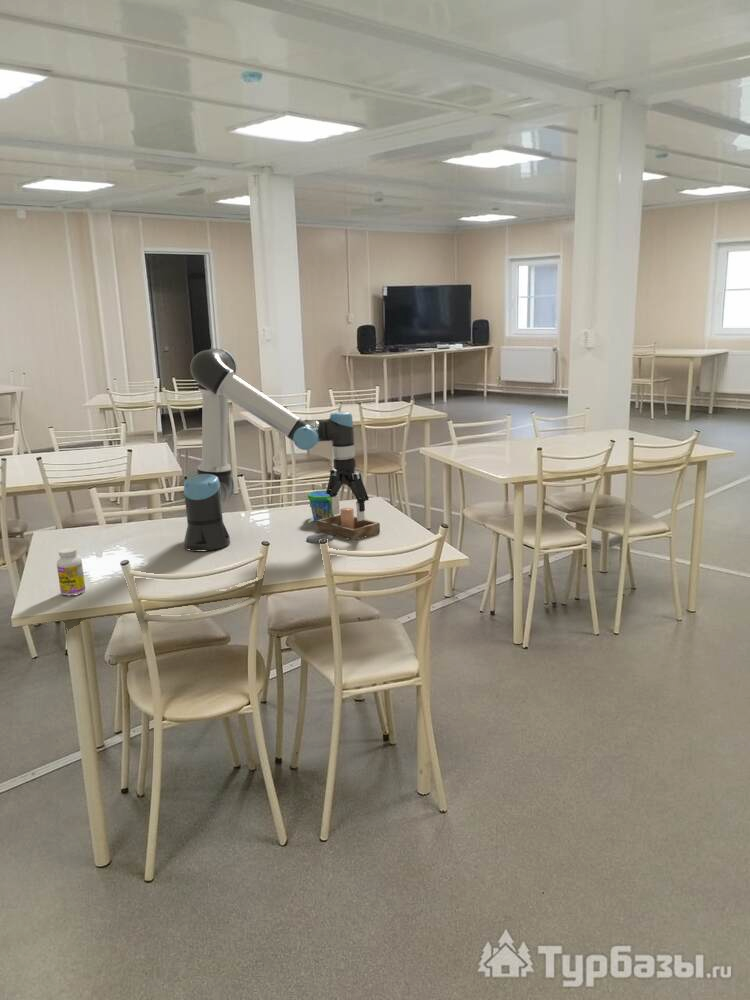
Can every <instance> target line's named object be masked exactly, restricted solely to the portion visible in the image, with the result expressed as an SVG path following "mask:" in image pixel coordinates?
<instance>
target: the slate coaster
mask: <svg viewBox="0 0 750 1000" xmlns="http://www.w3.org/2000/svg"><path fill="white" fill-rule="evenodd" d="M324 538H325V539H328V540H329V542H330V540H331V541H333V540H334V535H333V534H330V533H316V534H311V535H308V536H306V542H307V543H311V544H320V543H319V540H320V539H324Z"/></svg>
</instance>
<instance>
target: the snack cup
mask: <svg viewBox="0 0 750 1000" xmlns="http://www.w3.org/2000/svg"><path fill="white" fill-rule="evenodd" d="M326 490H327V489H326ZM326 490H324V489H323V490H315V491H312V492H309V493H308V494H307V498H308V500H309V507H310V509H311V514H312V518H313V520H314V521H315V522H317V520H320V519H324V518H328V517H332V516H335V515H333V513H332V505H331V497H330V495H329V494H327V493H326ZM336 496H338V495H336Z"/></svg>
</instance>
